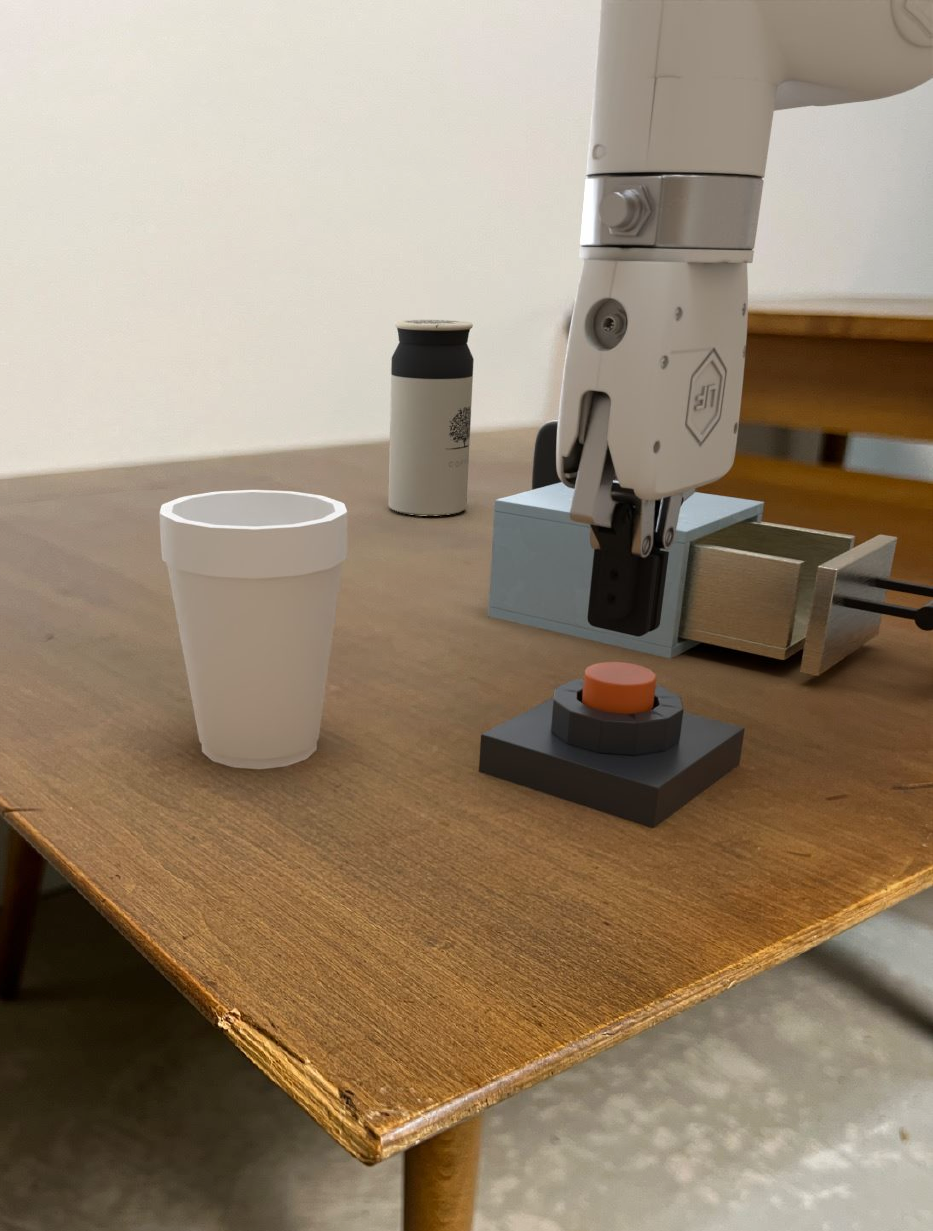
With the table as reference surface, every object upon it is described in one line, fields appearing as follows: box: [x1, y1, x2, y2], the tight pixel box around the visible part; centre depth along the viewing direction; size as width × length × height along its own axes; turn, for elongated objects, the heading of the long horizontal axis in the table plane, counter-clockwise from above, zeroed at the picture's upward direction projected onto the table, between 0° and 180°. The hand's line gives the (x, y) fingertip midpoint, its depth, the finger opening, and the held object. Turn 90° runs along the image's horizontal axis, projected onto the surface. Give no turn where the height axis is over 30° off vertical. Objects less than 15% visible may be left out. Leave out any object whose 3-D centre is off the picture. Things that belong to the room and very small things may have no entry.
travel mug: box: [387, 319, 475, 516], centre depth 119 cm, size 8×8×18 cm
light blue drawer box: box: [487, 480, 765, 659], centre depth 87 cm, size 15×13×9 cm
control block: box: [478, 678, 746, 829], centre depth 62 cm, size 10×10×4 cm
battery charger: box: [531, 419, 615, 490], centre depth 104 cm, size 7×4×11 cm, turn 70°
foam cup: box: [158, 489, 348, 770], centre depth 63 cm, size 10×9×13 cm
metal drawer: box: [678, 519, 933, 677], centre depth 79 cm, size 19×11×7 cm, turn 50°
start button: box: [582, 661, 657, 714], centre depth 61 cm, size 4×4×2 cm
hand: (622, 626), depth 60 cm, fingers closed
